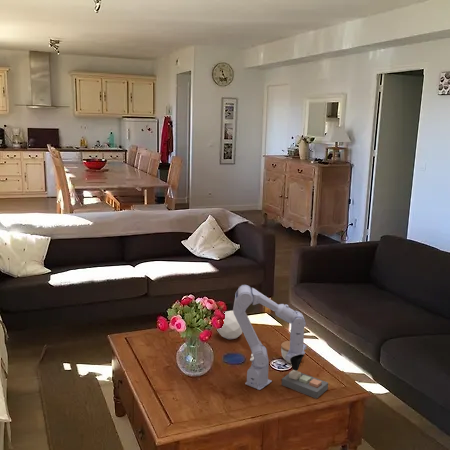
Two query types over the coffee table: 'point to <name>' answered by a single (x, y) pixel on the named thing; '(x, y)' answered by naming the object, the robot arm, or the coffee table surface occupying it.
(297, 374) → the ivory key
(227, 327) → the geometric shape
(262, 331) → the coffee table surface
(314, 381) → the pink block
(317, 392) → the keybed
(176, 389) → the coffee table surface
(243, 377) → the coffee table surface
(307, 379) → the sage key
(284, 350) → the lidded jar
